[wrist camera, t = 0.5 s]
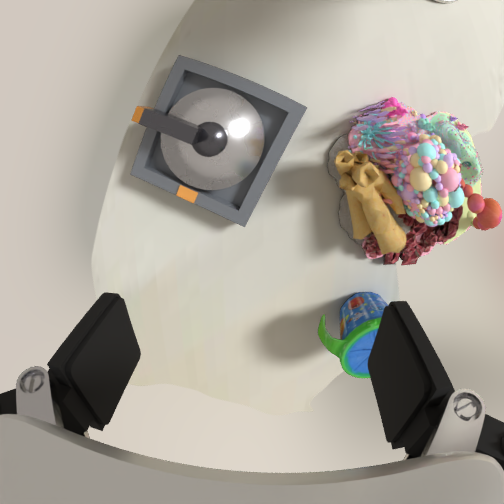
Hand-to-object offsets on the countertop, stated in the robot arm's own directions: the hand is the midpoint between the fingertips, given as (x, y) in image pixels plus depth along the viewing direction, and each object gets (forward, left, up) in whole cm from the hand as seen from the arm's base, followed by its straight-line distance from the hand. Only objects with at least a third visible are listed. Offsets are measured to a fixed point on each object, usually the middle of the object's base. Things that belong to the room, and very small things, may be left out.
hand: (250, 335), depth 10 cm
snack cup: (+11, +22, -28) cm, 38 cm away
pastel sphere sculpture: (-10, +17, -29) cm, 35 cm away
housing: (-2, -8, -28) cm, 29 cm away
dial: (-2, -9, -26) cm, 28 cm away
